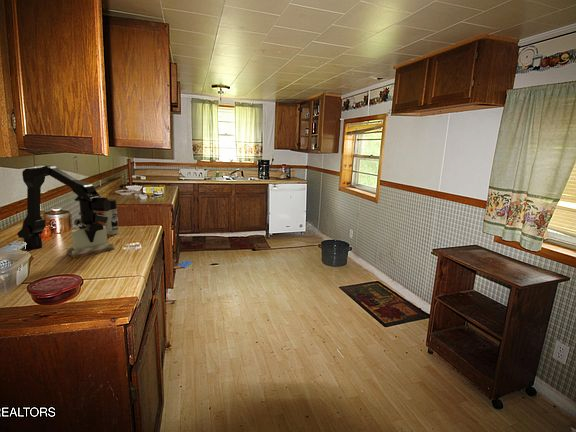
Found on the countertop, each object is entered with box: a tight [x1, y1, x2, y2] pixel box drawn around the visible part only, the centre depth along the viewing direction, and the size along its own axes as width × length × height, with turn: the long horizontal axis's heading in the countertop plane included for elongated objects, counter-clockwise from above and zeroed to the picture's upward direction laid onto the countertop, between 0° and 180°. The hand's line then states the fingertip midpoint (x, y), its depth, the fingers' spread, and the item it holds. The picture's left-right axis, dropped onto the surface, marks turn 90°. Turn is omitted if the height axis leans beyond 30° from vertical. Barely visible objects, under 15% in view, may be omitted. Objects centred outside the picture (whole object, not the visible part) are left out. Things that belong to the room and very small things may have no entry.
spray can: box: [103, 198, 120, 236], centre depth 184 cm, size 7×7×20 cm
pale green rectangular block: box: [71, 225, 108, 250], centre depth 153 cm, size 14×4×9 cm, turn 142°
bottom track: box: [65, 240, 115, 259], centre depth 154 cm, size 18×9×3 cm, turn 142°
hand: (90, 241), depth 154 cm, fingers closed on pale green rectangular block, 3 cm apart
